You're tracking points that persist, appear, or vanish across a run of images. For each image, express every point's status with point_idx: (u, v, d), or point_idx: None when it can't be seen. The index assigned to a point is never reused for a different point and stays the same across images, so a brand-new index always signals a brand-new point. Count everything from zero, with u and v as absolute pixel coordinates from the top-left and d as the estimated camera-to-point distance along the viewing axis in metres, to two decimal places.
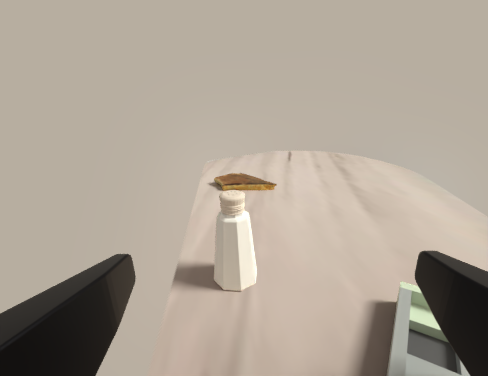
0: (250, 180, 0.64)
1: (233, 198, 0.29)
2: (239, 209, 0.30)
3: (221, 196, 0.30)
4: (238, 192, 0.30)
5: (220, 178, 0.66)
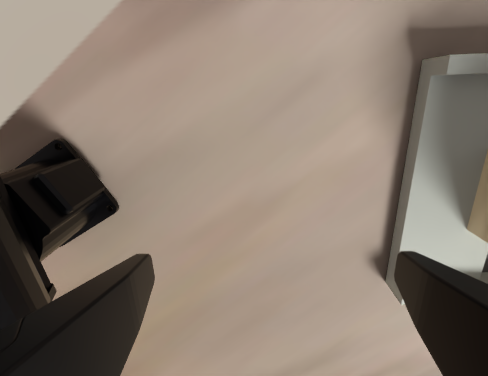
0: None
1: None
2: None
3: None
4: None
5: None
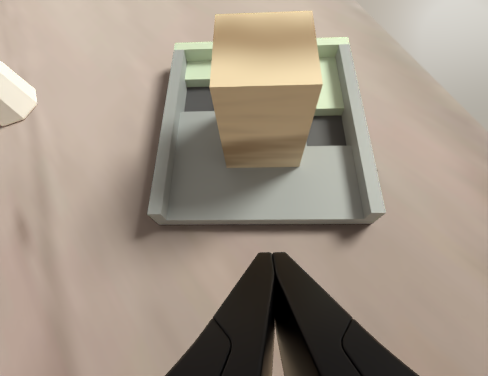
0: None
1: None
2: None
3: None
4: None
5: None
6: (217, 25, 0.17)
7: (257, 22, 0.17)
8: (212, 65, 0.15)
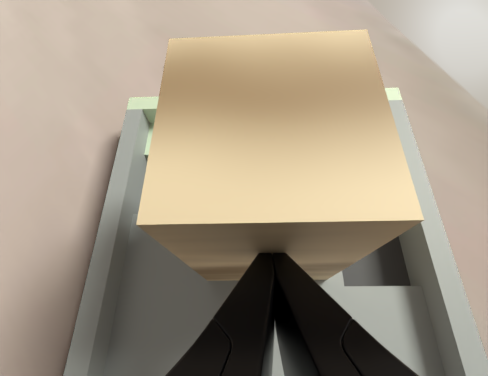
0: None
1: None
2: None
3: None
4: None
5: None
6: (171, 62, 0.08)
7: (256, 55, 0.08)
8: (150, 160, 0.07)
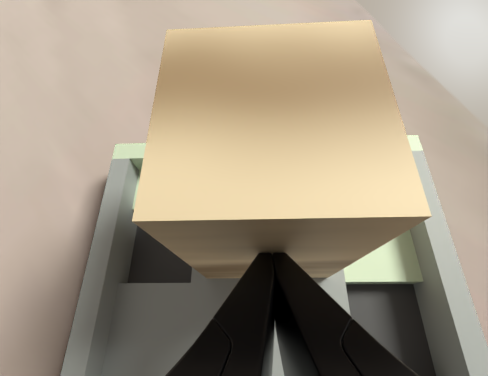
0: None
1: None
2: None
3: None
4: None
5: None
6: (169, 53, 0.08)
7: (256, 46, 0.08)
8: (147, 155, 0.06)
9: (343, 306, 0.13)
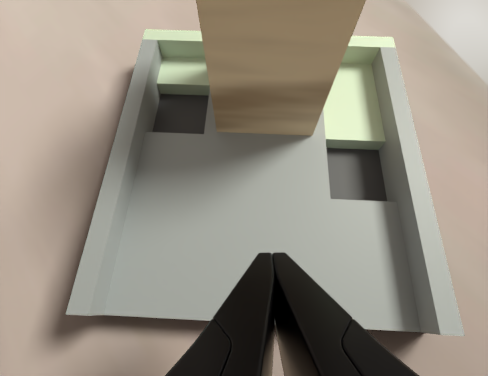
0: None
1: None
2: None
3: None
4: None
5: None
6: None
7: None
8: None
9: (322, 154, 0.17)
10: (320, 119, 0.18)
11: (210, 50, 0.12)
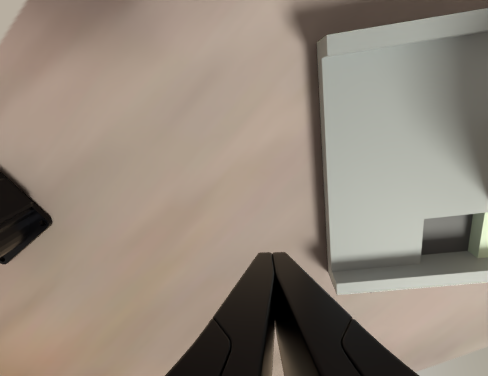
0: None
1: None
2: None
3: None
4: None
5: None
6: None
7: None
8: None
9: (468, 210, 0.19)
10: None
11: None
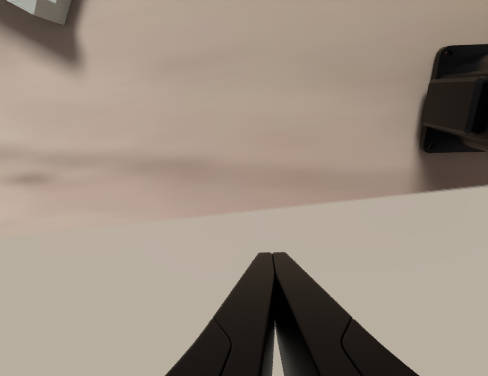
0: None
1: None
2: None
3: None
4: None
5: None
6: None
7: None
8: None
9: None
10: None
11: None
